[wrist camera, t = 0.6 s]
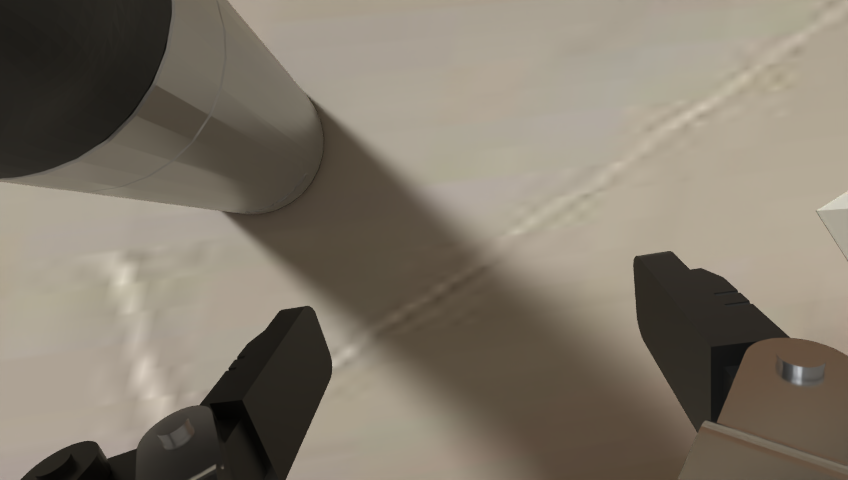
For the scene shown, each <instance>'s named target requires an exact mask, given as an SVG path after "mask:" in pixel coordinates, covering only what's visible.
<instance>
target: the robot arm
mask: <svg viewBox="0 0 848 480" xmlns="http://www.w3.org/2000/svg"><path fill="white" fill-rule="evenodd" d="M323 141H324V138H323V131H322V125H321V121H320V119H319V116H318V114H317V111H316V109H315V107H314V106H313V104H312V103H311V101H310V100H309V98H308V96H307V95H306V94H305V93H304V92H303V90H302V89H301V88H300V87H299V86H298V84H297V83H296V82H295V81H294V80H293V79H292V77H291V76H290V75H289V73H288V72H287V71H286V70H285V69H284V67H283V66H282V65H281V64H280V63H279V61H278V60H277V59H276V58H275V57H274V55H273V54H272V53H271V52H270V51H269V49H268V48H267V47H266V46H265V45H264V44H263V42H262V41H261V40H260V39H259V38H258V36H257V35H256V34H255V33H254V32H253V30H252V29H251V28H250V27H249V26H248V24H247V23H246V22H245V21H244V20H243V19H242V17H241V16H240V15H239V14H238V13H237V11H236V10H235V9H234V8H233V7H232V5H231V4H230V3H229V2H228V1H227V0H0V182H7V183H15V184H22V185H30V186H37V187H45V188H52V189H60V190H69V191H77V192H84V193H92V194H99V195H107V196H114V197H122V198H129V199H136V200H144V201H151V202H159V203H166V204H174V205H181V206H189V207H196V208H203V209H210V210H219V211H226V212H234V213H241V214H263V213H267V212H271V211H274V210H278V209H280V208H282V207H284V206H286V205H288V204H290V203H291V202H292V201H294V200H295V199H296V198H297V197H299V196H300V195H301V194H302V193H303V192H304V191H305V190H306V188H307V187H308V186H309V185H310V184H311V182H312V181H313V179H314V177H315V175H316V173H317V171H318V169H319V166H320V162H321V158H322V155H323ZM633 268H634V283H635V297H636V312H637V321H638V325H639V329H640V333H641V336H642V338H643V341H644V342H645V344H646V346H647V348H648V349H649V351H650V353H651V354H652V356H653V358H654V360H655V361H656V363H657V365H658V366H659V368H660V370H661V372H662V373H663V375H664V377H665V378H666V380H667V382H668V383H669V385H670V387H671V389H672V390H673V392H674V394H675V395H676V397H677V399H678V401H679V402H680V404H681V406H682V407H683V409H684V411H685V413H686V414H687V416H688V418H689V419H690V421H691V423H692V424H693V426H694V428H695V430H696V431H697V433H698V434H697V436H696V438H695V441H694V443H693V445H692V447H691V450H690V452H689V454H688V457H687V459H686V461H685V463H684V466H683V468H682V470H681V473H680V475H679V477H678V479H677V480H848V356H847V355H845V354H844V353H842V352H840V351H838V350H836V349H834V348H831V347H829V346H826V345H823V344H820V343H817V342H813V341H809V340H803V339H797V338H790V337H789V336H788V335H787V334H785V333H784V332H783V331H782V330H781V329H780V328H779V327H778V326H777V325H775V324H774V323H773V322H772V321H771V320H770V319H769V318H768V317H767V316H765V315H764V314H763V313H762V312H761V311H760V310H759V309H758V308H757V307H755V306H754V305H753V304H750V302H749V300H748V299H747V298H746V297H744V296H743V295H742V294H741V293H738V291H737V289H736V288H734V287H733V286H732V285H731V284H730V283H729V282H728V281H727V280H726V279H724V278H723V277H721V276H719V275H716V274H714V273H711V272H709V271H707V270H704V269H702V268H699V269H692V270H690V269H689V268H688V267H687V266H686V265H685V264H684V263H683V262H682V261H681V260H680V259H679V258H678V257H677V256H676V255H675V254H674V253H673V252H671V251H667V252H660V253H654V254H647V255H641V256H636V257H635V258H634V263H633ZM331 374H332V360H331V355H330V352H329V349H328V347H327V344H326V341H325V338H324V335H323V333H322V330H321V327H320V324H319V321H318V319H317V316H316V313H315V311H314V310H313V308H312V307H310V306H304V307H297V308H291V309H284V310H281V311H279V312H278V314H277V315H276V316H275V318H274V319H273V320H272V322H271V323H270V324H269V326H268V327H267V328H266V330H265V331H263V332H262V333H261V334H259V335H258V336H257V337H256V338H254V339H253V340H252V341H250V342H249V343H248V344H247V345H246V347H245V348H244V349H243V350H242V352H241V353H240V354H239V355H238V357H237V360H235V361H234V362H233V363H232V364H231V366H230V367H229V371H226V372H225V373H224V375H223V376H222V377H221V378H220V380H219V381H218V382H217V384H216V385H215V386H214V387H213V389H212V390H211V391H210V392H209V394H208V395H207V396H206V398H205V399H204V400H203V401H202V403H201V404H200V405H197V406H191V407H187V408H184V409H181V410H179V411H176V412H174V413H172V414H170V415H169V416H167V417H165V418H164V419H162V420H161V421H159V422H158V423H157V424H155V425H154V426H153V427H152V428H151V429H150V430H149V431H148V432H147V433H146V434H145V435H144V436H143V437H142V439H141V441H140V442H139V444H138V447H137V449H135V450H132V451H129V452H126V453H123V454H120V455H117V456H114V457H111V458H108V459H107V458H106V456H105V455H104V453H103V452H102V450H101V448H100V447H99V445H98V444H97V443H96V442H93V441H84V442H79V443H76V444H73V445H70V446H68V447H66V448H63V449H61V450H59V451H57V452H56V453H54V454H52V455H51V456H49V457H47V458H46V459H44V460H43V461H41V462H40V463H39V464H37V465H36V466H35V467H34V468H32V469H31V470H30V471H29V472H28V473H27V474H26V475H25V476H24V477H23V478H22V479H21V480H286V478H287V475H288V473H289V471H290V469H291V466H292V464H293V462H294V460H295V457H296V455H297V453H298V451H299V448H300V446H301V444H302V442H303V439H304V437H305V435H306V433H307V430H308V428H309V426H310V424H311V421H312V419H313V417H314V415H315V412H316V410H317V408H318V406H319V404H320V401H321V399H322V397H323V395H324V392H325V390H326V388H327V386H328V383H329V381H330V378H331Z"/></svg>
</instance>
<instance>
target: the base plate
mask: <svg viewBox="0 0 848 480" xmlns="http://www.w3.org/2000/svg"><path fill="white" fill-rule="evenodd" d="M817 213H818V214H819V216H820V218H821V219H822V221H823V222H824V224H825V225H826V227H827V229H828V230H829V232H830V233H831V235H832V236H833V238H834V240H835V241H836V243H837V244H838V246H839V247H840V249H841V251H842V252H843V254H844V255H845V257H846V258H847V260H848V191H847V192H845V193H844V194H842V195H840V196H839V197H837V198H836V199H834V200H833V201H831V202H829V203H828V204H826V205H825V206H823V207H821V208H820V209H818V210H817Z"/></svg>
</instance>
